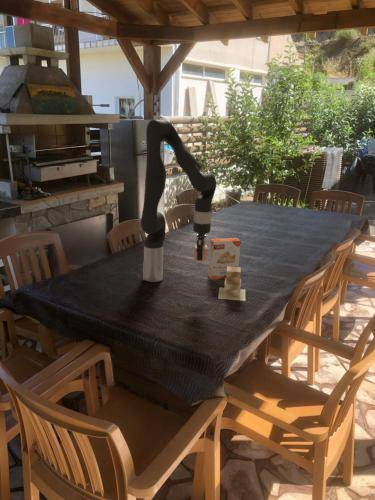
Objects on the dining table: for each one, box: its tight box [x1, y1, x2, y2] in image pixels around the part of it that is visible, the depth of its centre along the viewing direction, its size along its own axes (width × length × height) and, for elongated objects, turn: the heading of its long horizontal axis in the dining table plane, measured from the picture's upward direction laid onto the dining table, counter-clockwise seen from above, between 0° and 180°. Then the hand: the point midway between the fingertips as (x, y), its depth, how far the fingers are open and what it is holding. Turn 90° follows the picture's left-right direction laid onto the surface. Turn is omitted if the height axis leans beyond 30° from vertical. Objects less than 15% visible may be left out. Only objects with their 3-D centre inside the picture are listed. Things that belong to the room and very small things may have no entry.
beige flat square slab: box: [217, 287, 246, 302], centre depth 187 cm, size 12×12×2 cm
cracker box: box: [207, 237, 242, 281], centre depth 203 cm, size 14×6×21 cm, turn 105°
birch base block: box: [223, 278, 242, 298], centre depth 186 cm, size 7×7×6 cm
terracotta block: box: [193, 244, 208, 263], centre depth 182 cm, size 5×5×6 cm
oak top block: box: [226, 266, 242, 285], centre depth 184 cm, size 6×6×6 cm
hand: (200, 257), depth 183 cm, fingers closed on terracotta block, 5 cm apart
